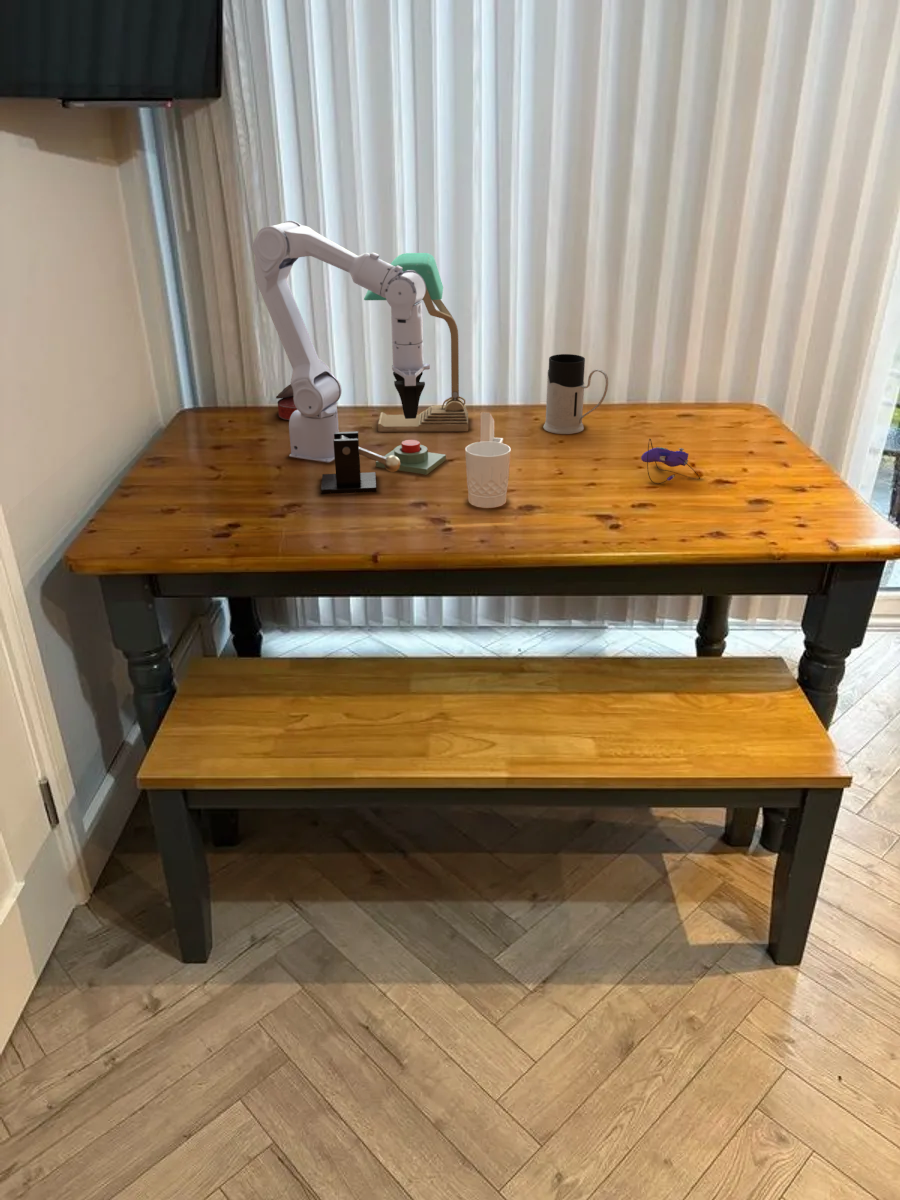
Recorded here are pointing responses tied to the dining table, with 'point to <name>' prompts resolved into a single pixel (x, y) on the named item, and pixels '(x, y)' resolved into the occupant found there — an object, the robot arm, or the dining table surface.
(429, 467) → the switch box
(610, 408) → the dining table surface
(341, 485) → the switch bracket
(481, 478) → the white cup
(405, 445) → the button
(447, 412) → the banker's lamp
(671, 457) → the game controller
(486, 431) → the white wedge bracket
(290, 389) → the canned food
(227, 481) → the dining table surface
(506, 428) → the dining table surface
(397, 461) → the lever
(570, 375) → the glass holder
